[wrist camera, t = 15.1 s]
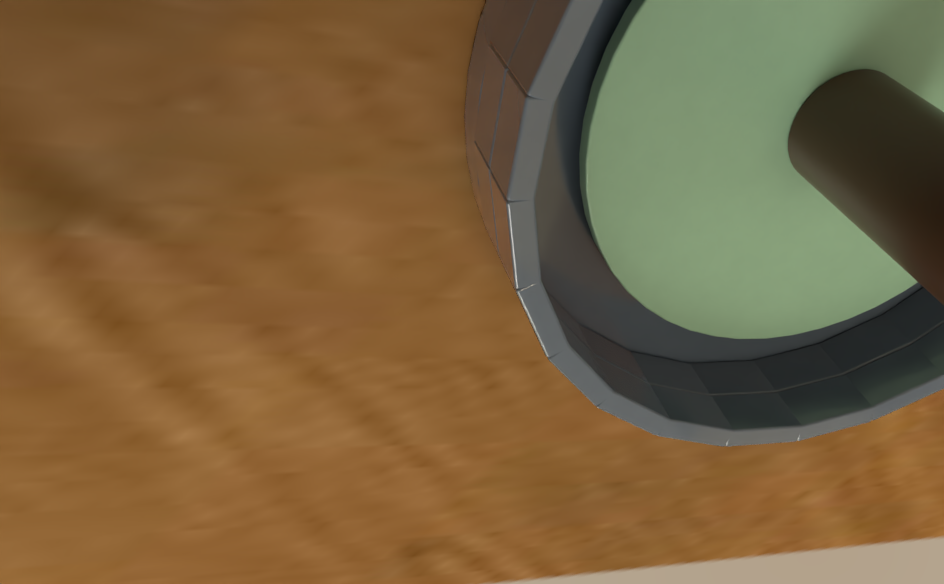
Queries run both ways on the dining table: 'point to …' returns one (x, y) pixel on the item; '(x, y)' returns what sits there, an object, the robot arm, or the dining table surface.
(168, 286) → the dining table surface
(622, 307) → the pan
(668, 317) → the lid
